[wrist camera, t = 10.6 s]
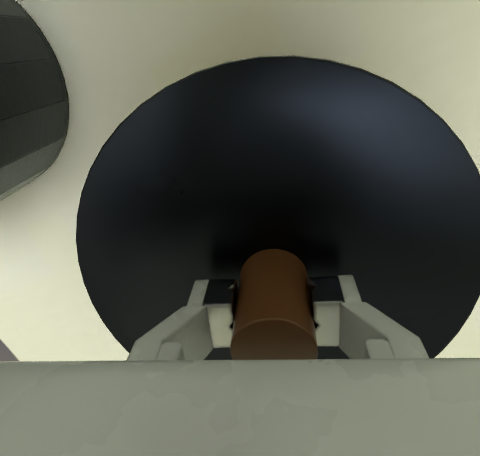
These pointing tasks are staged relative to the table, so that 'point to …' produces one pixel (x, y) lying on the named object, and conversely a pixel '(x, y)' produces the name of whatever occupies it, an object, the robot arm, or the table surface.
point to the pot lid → (282, 206)
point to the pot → (28, 100)
